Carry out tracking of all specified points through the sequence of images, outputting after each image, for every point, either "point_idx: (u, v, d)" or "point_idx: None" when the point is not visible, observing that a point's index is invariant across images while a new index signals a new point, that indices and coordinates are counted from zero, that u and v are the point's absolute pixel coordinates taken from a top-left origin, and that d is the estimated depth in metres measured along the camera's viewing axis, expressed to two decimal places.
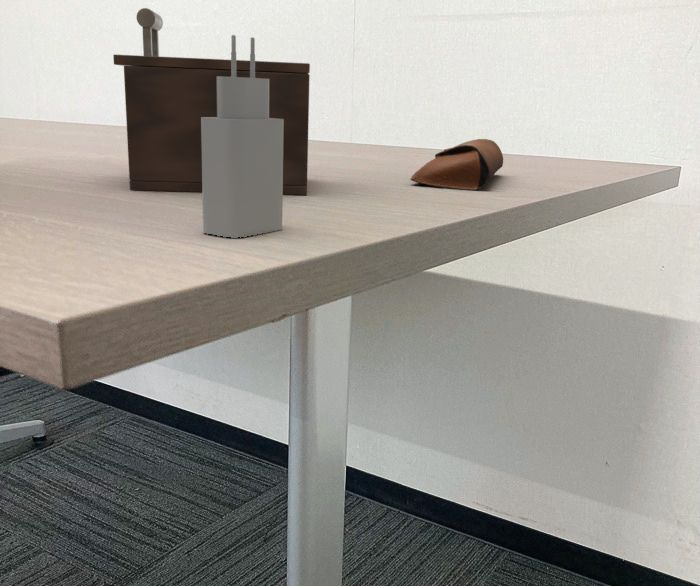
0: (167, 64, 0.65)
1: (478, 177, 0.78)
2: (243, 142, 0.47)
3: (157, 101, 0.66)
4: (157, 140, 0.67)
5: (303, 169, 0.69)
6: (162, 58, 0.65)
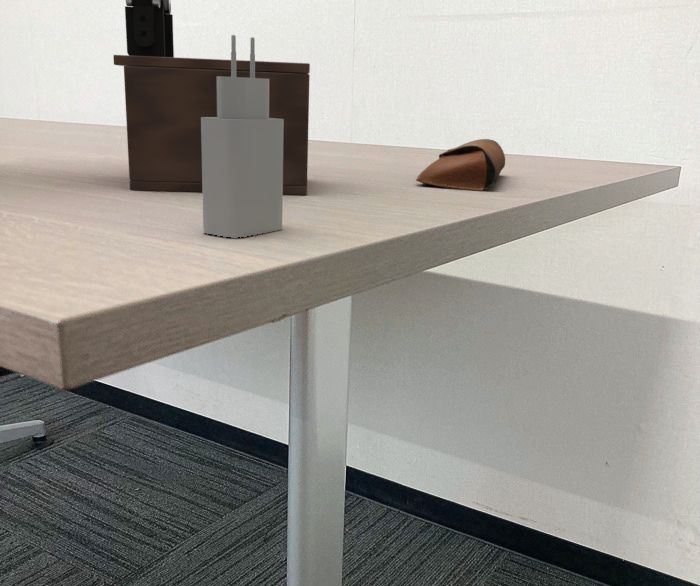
0: (167, 64, 0.65)
1: (485, 177, 0.78)
2: (243, 142, 0.47)
3: (157, 101, 0.66)
4: (157, 140, 0.67)
5: (303, 169, 0.69)
6: (162, 58, 0.65)
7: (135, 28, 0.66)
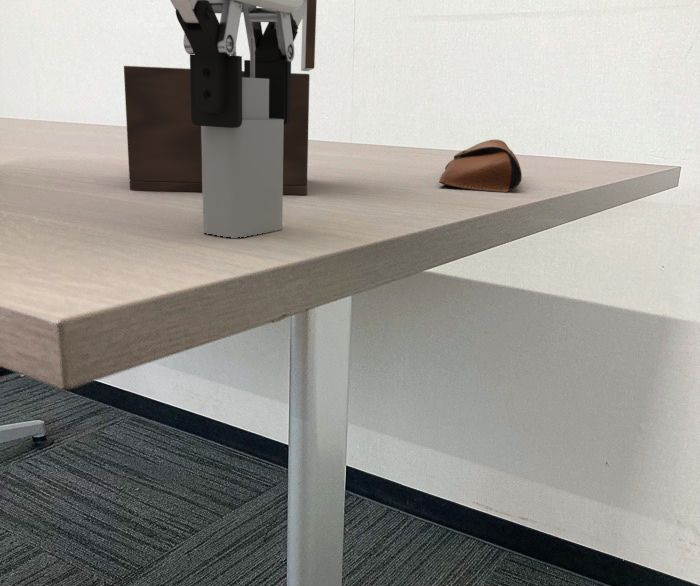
0: None
1: (509, 179, 0.78)
2: (243, 142, 0.47)
3: (157, 101, 0.66)
4: (157, 140, 0.67)
5: (303, 169, 0.69)
6: None
7: (197, 86, 0.45)
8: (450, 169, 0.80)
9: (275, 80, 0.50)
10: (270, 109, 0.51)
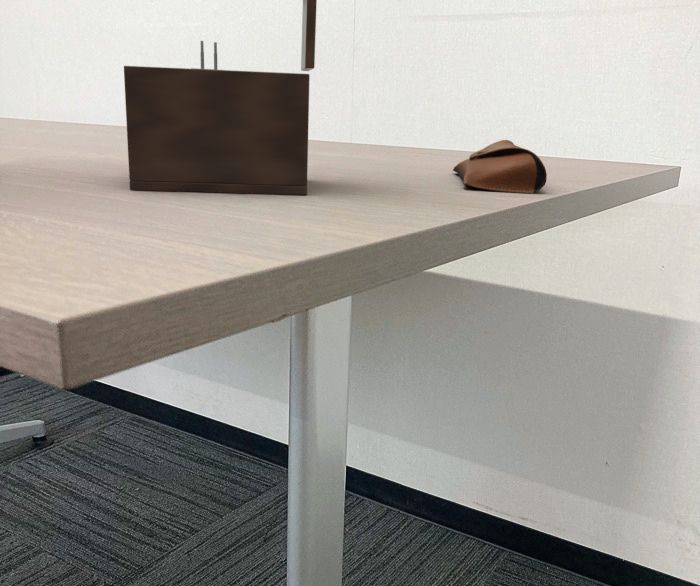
0: None
1: (534, 180, 0.77)
2: None
3: (157, 101, 0.66)
4: (157, 140, 0.67)
5: (303, 169, 0.69)
6: None
7: None
8: (473, 170, 0.80)
9: None
10: None
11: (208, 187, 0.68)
